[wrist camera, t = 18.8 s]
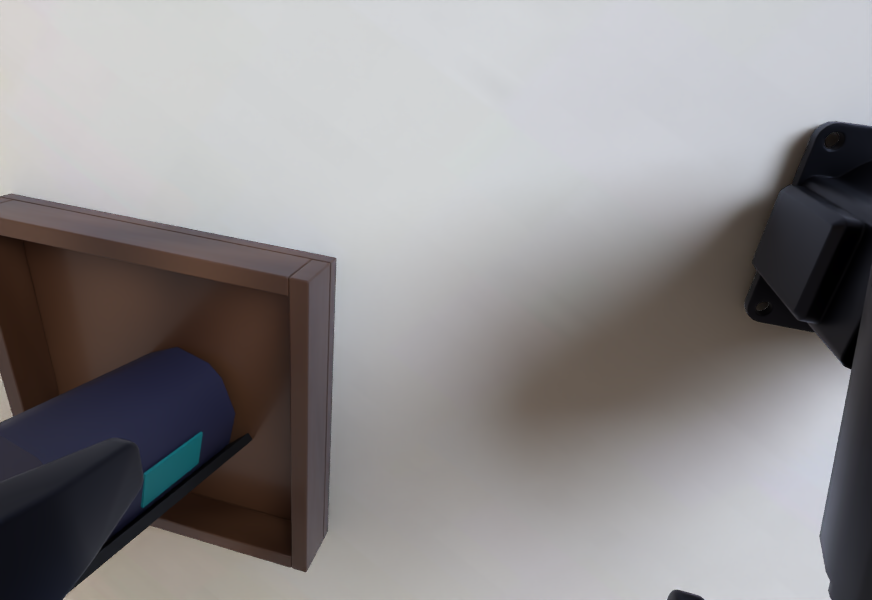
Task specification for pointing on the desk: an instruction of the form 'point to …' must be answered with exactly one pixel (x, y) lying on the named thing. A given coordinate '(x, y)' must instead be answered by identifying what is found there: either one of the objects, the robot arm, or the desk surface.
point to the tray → (194, 333)
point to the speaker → (134, 432)
